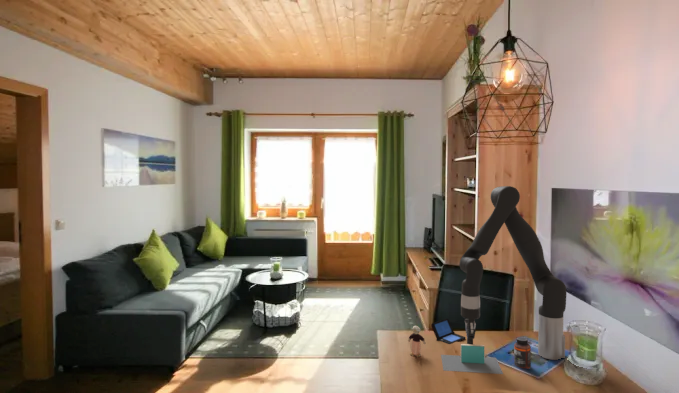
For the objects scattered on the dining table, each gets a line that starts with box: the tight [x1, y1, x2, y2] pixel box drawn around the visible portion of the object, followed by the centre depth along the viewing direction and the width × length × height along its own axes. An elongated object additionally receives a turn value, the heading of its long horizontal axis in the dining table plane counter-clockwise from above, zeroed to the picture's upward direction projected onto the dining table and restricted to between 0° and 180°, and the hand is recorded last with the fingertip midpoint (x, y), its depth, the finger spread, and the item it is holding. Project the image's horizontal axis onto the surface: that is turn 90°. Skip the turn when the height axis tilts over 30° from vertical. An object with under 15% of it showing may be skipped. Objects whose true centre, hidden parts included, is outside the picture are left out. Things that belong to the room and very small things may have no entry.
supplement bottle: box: [513, 336, 532, 370], centre depth 164 cm, size 6×6×11 cm
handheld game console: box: [431, 318, 466, 345], centre depth 192 cm, size 12×11×7 cm
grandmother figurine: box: [407, 325, 426, 358], centre depth 176 cm, size 8×4×13 cm, turn 73°
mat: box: [440, 354, 504, 375], centre depth 166 cm, size 22×14×1 cm, turn 80°
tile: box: [460, 343, 485, 364], centre depth 167 cm, size 9×2×7 cm, turn 80°
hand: (469, 346), depth 172 cm, fingers closed
